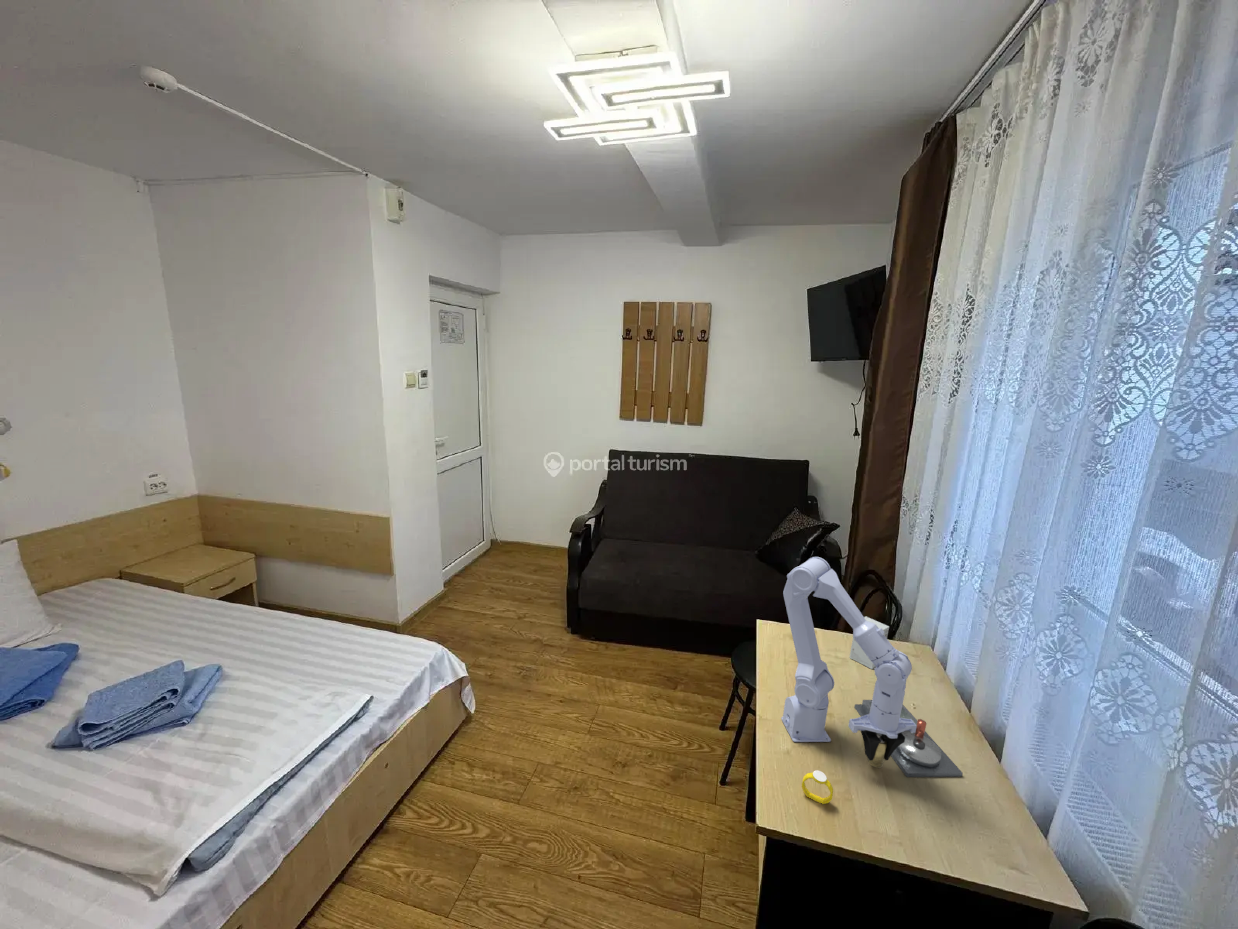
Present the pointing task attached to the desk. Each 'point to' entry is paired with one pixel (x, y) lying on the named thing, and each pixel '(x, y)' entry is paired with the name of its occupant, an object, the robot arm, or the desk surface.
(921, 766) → the crank bench
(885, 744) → the cylinder
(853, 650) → the supplement box
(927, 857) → the desk surface
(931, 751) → the crank
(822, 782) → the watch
